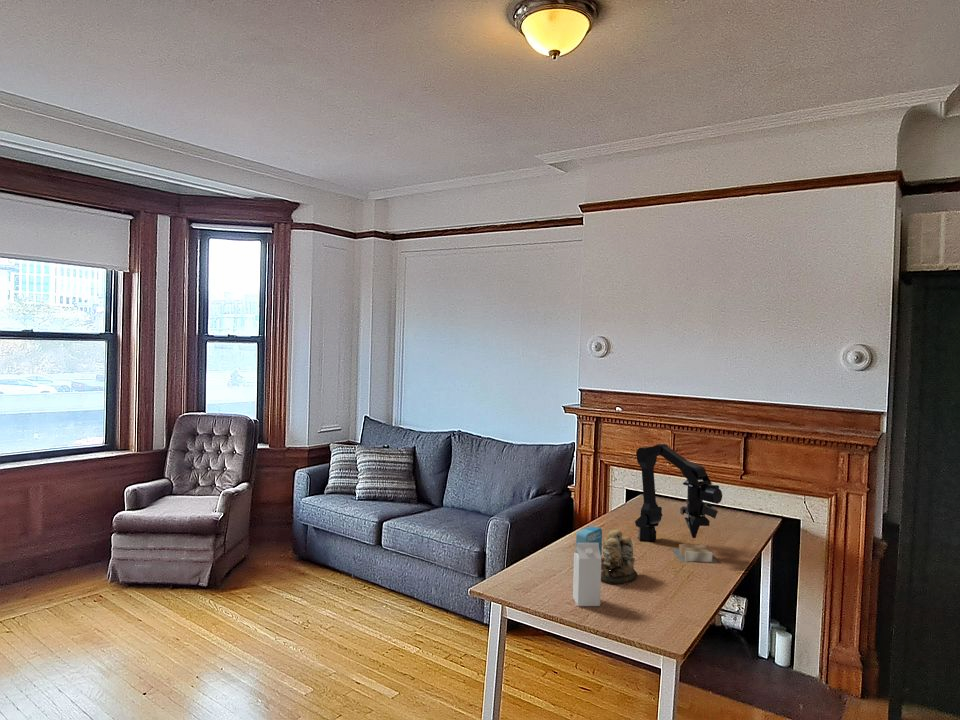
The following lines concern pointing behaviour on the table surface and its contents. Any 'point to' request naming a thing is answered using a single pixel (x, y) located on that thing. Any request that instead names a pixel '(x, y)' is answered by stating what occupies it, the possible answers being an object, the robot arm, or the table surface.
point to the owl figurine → (618, 559)
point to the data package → (590, 536)
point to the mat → (676, 552)
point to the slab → (695, 553)
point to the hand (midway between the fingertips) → (693, 537)
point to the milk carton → (587, 574)
